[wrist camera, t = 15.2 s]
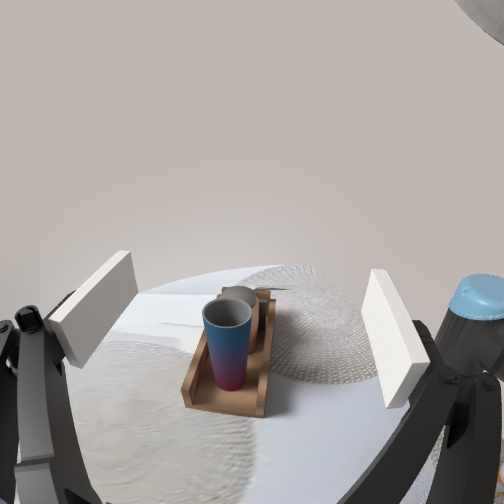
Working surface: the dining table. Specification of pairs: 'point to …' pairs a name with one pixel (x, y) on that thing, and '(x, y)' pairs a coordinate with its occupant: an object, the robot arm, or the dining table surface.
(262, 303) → the pusher
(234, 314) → the cup
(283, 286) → the spoon
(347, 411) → the dining table surface
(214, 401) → the wooden tray
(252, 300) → the jar
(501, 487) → the supplement bottle
